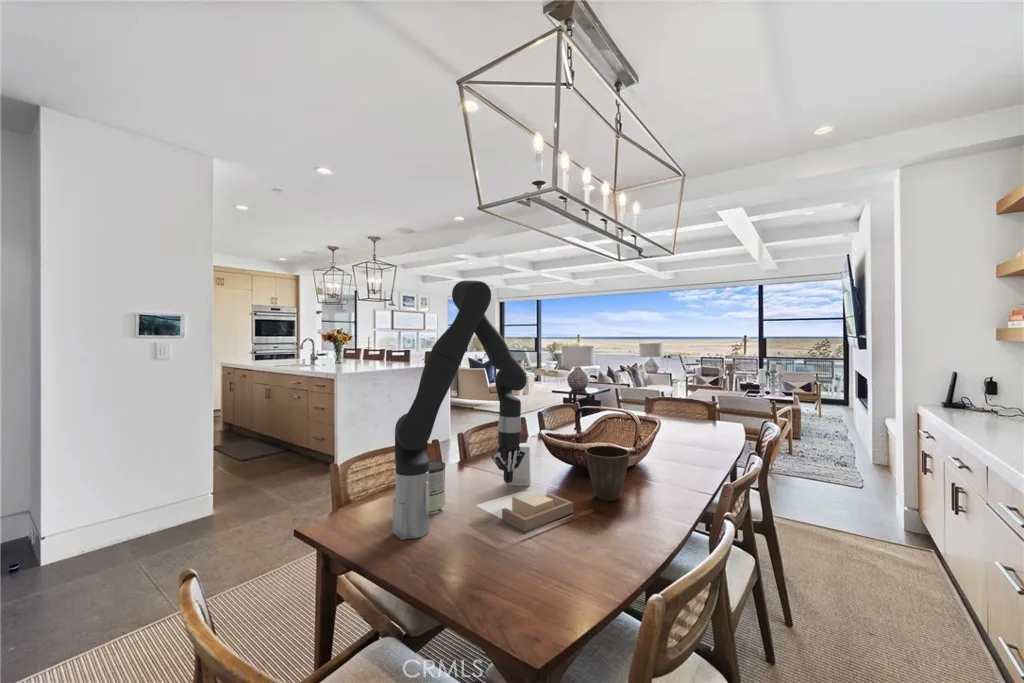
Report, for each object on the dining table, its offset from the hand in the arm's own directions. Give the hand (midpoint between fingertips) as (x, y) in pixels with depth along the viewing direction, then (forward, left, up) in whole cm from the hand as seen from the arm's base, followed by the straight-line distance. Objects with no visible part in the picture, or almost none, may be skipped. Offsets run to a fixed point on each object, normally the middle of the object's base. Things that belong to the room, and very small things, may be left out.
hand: (508, 482), depth 136 cm
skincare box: (+15, +12, -8) cm, 21 cm away
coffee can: (-21, +15, -8) cm, 27 cm away
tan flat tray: (0, -7, -8) cm, 10 cm away
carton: (0, -11, -7) cm, 13 cm away
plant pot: (+31, -16, -8) cm, 36 cm away
